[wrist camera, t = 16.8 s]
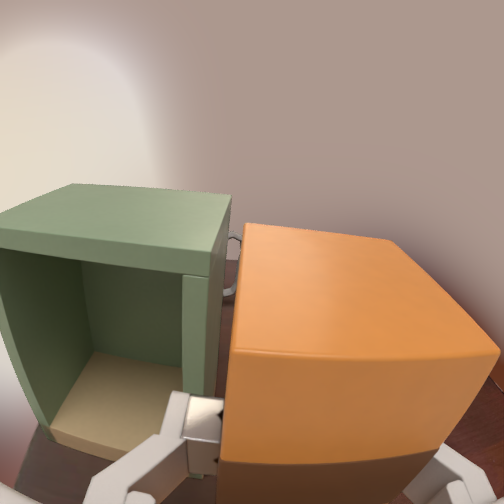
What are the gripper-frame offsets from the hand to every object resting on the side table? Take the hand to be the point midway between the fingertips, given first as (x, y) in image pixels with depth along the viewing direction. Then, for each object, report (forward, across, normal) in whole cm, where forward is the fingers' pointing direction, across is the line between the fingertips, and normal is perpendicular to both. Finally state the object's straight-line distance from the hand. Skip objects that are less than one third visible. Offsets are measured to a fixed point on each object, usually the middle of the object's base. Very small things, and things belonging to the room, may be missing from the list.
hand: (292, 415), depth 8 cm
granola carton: (-1, 0, +6) cm, 6 cm away
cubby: (+12, +10, +17) cm, 23 cm away
